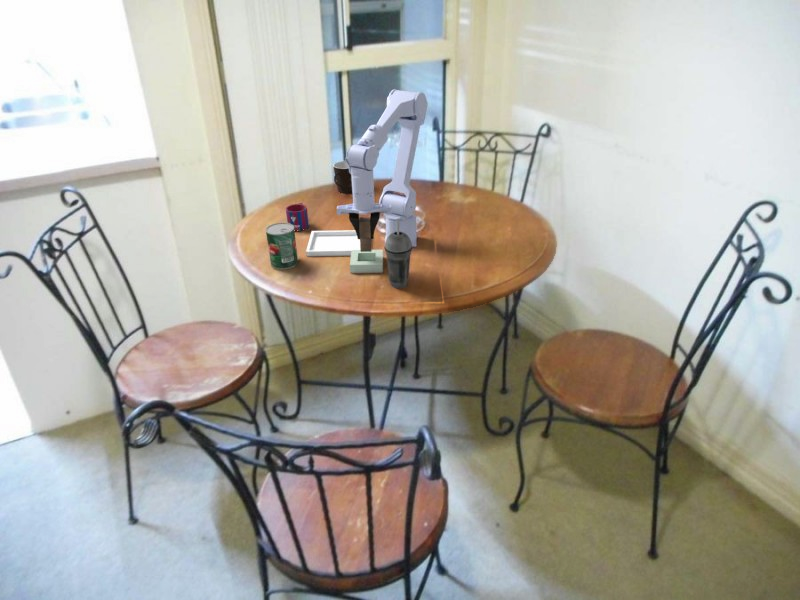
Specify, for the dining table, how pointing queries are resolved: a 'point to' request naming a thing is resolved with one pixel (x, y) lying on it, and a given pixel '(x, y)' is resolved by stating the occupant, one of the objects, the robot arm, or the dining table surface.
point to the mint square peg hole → (366, 261)
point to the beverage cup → (398, 257)
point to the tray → (332, 243)
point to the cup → (297, 216)
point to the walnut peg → (365, 234)
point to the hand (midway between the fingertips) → (365, 237)
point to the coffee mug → (342, 177)
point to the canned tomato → (282, 245)
